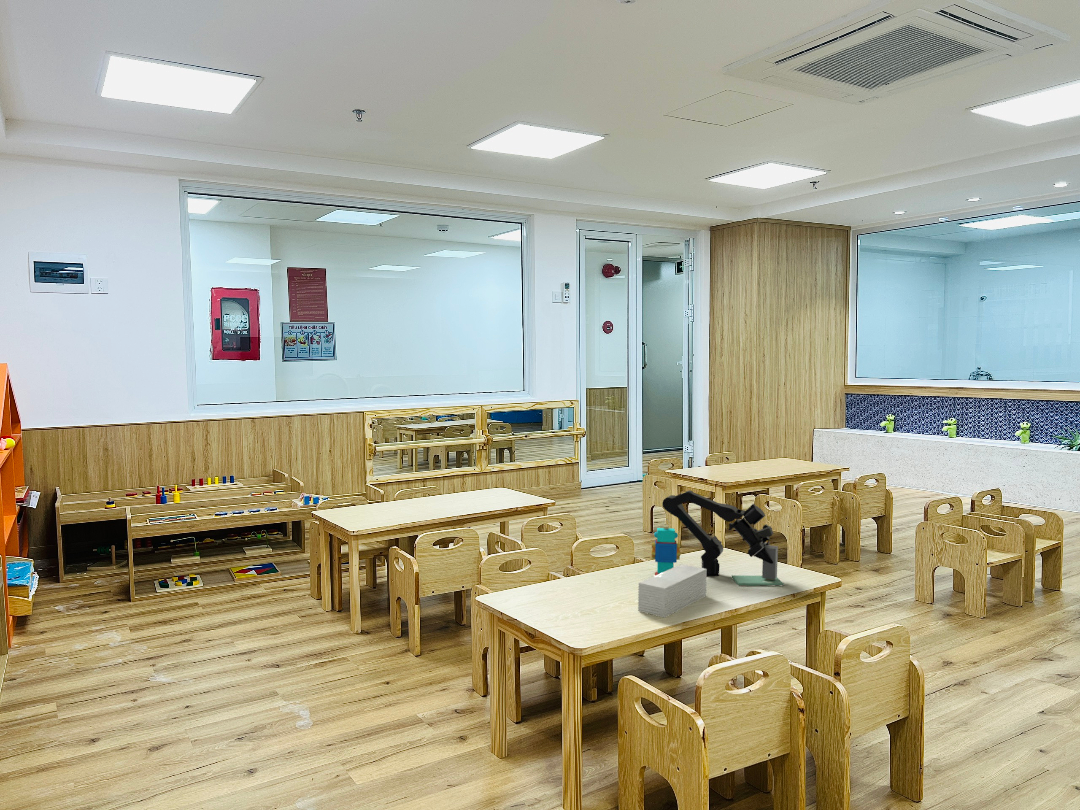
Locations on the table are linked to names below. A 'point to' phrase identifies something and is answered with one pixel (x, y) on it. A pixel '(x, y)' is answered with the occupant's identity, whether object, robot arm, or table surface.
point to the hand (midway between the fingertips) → (773, 561)
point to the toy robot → (665, 549)
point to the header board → (755, 580)
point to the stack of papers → (672, 590)
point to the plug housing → (770, 569)
